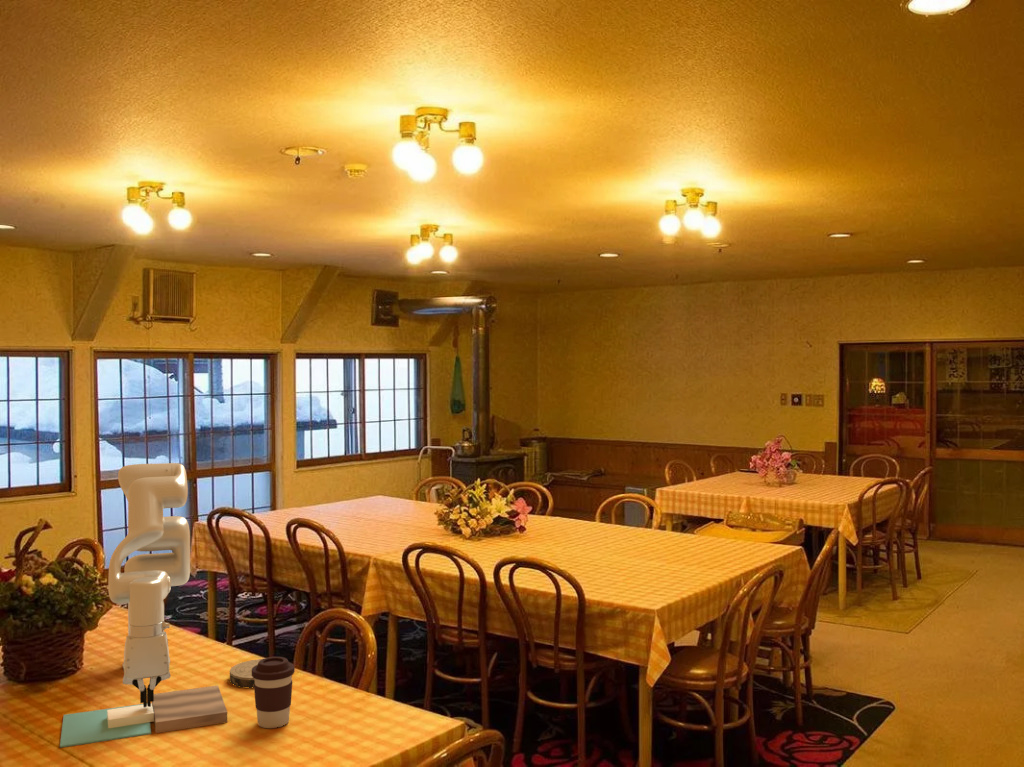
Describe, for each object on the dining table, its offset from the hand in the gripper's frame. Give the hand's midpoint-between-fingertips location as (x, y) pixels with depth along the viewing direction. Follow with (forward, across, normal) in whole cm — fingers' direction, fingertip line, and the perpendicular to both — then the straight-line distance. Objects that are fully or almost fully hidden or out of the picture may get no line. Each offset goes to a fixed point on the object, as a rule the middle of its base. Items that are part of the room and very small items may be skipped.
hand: (147, 705), depth 220 cm
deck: (+3, -10, 0) cm, 10 cm away
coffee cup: (+4, -28, +15) cm, 32 cm away
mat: (+3, +9, 0) cm, 10 cm away
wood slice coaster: (+4, -30, -19) cm, 35 cm away
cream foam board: (+3, +4, 0) cm, 5 cm away
